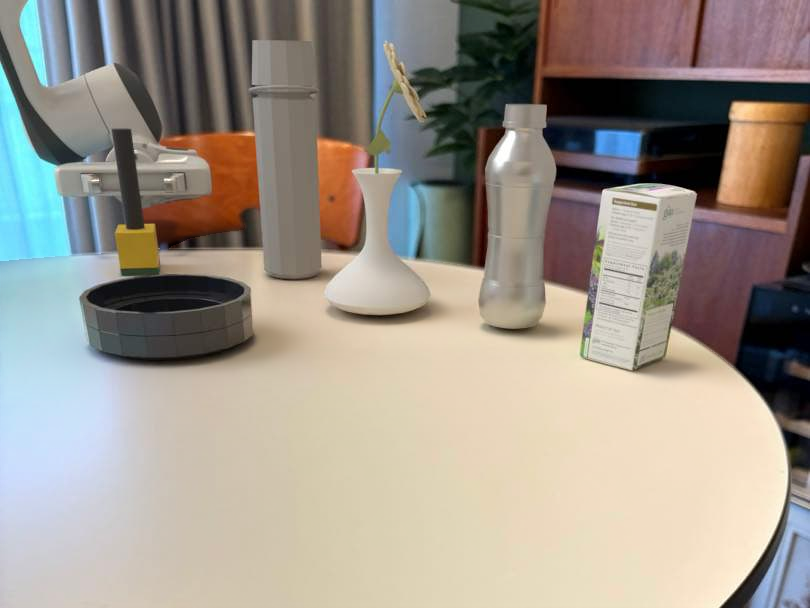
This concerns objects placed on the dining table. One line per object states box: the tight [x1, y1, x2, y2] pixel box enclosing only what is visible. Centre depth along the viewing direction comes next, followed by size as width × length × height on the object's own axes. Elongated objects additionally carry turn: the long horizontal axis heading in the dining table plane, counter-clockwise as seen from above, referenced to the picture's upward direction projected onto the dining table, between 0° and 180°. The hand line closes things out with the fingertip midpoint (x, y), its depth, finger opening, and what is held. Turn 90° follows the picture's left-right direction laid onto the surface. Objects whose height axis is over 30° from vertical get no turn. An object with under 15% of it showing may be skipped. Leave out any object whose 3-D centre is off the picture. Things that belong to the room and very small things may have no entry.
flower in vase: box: [323, 39, 432, 316], centre depth 83 cm, size 13×11×25 cm
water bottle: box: [248, 39, 323, 280], centre depth 98 cm, size 9×8×25 cm
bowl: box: [78, 273, 255, 361], centre depth 77 cm, size 15×15×4 cm
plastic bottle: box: [478, 103, 557, 330], centre depth 79 cm, size 6×7×20 cm
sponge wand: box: [112, 128, 161, 276], centre depth 100 cm, size 4×6×16 cm
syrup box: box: [579, 183, 698, 371], centre depth 72 cm, size 6×6×14 cm
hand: (132, 186), depth 106 cm, fingers open, 8 cm apart
